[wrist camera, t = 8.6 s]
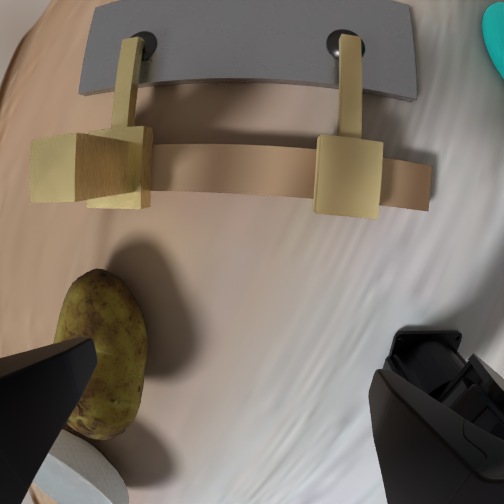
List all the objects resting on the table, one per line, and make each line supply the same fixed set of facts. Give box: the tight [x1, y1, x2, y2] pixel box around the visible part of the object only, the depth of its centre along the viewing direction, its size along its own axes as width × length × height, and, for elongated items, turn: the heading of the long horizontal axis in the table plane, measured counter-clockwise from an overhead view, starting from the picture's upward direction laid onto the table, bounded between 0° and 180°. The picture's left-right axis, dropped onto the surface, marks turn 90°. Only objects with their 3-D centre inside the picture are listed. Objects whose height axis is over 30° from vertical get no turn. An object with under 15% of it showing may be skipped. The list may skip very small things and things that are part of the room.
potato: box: [53, 269, 148, 440], centre depth 20 cm, size 8×13×8 cm, turn 154°
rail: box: [151, 34, 432, 219], centre depth 18 cm, size 26×12×3 cm, turn 87°
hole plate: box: [78, 0, 417, 102], centre depth 17 cm, size 24×8×1 cm, turn 87°
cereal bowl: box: [33, 429, 129, 504], centre depth 26 cm, size 17×17×7 cm
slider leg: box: [30, 37, 153, 209], centre depth 15 cm, size 4×12×8 cm, turn 177°
